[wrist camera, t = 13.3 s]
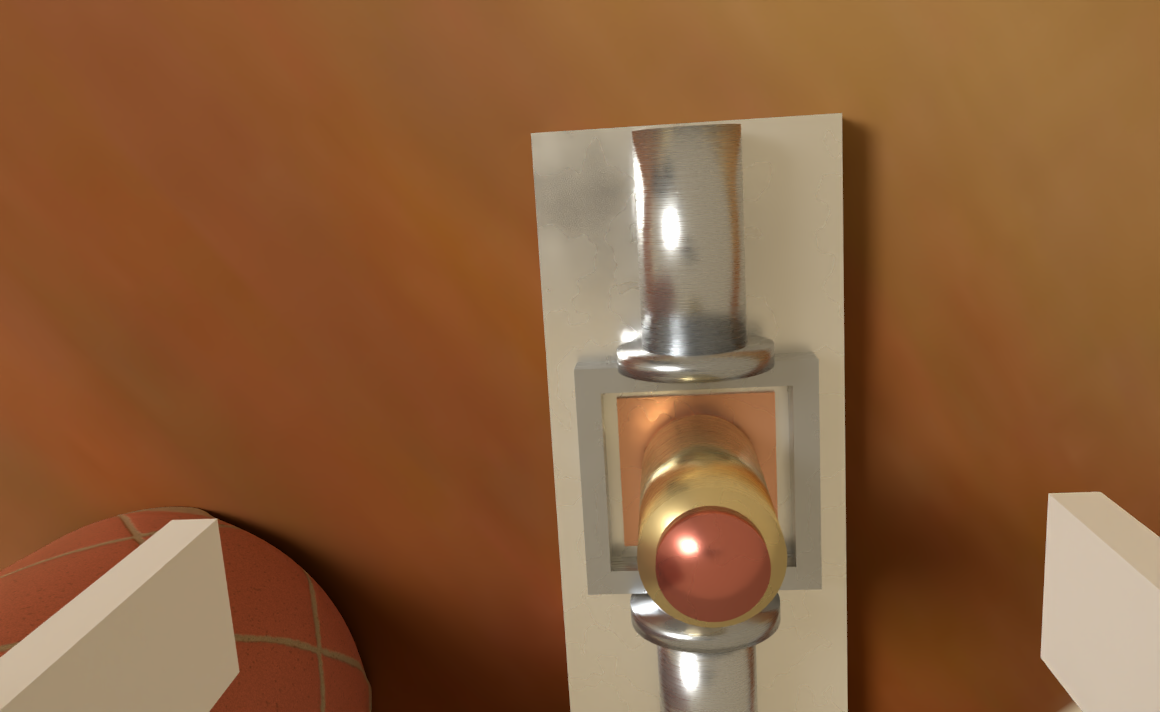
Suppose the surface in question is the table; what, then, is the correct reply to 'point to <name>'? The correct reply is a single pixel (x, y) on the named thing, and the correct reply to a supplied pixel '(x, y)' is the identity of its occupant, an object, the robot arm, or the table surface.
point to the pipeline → (696, 392)
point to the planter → (257, 602)
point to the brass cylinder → (707, 525)
